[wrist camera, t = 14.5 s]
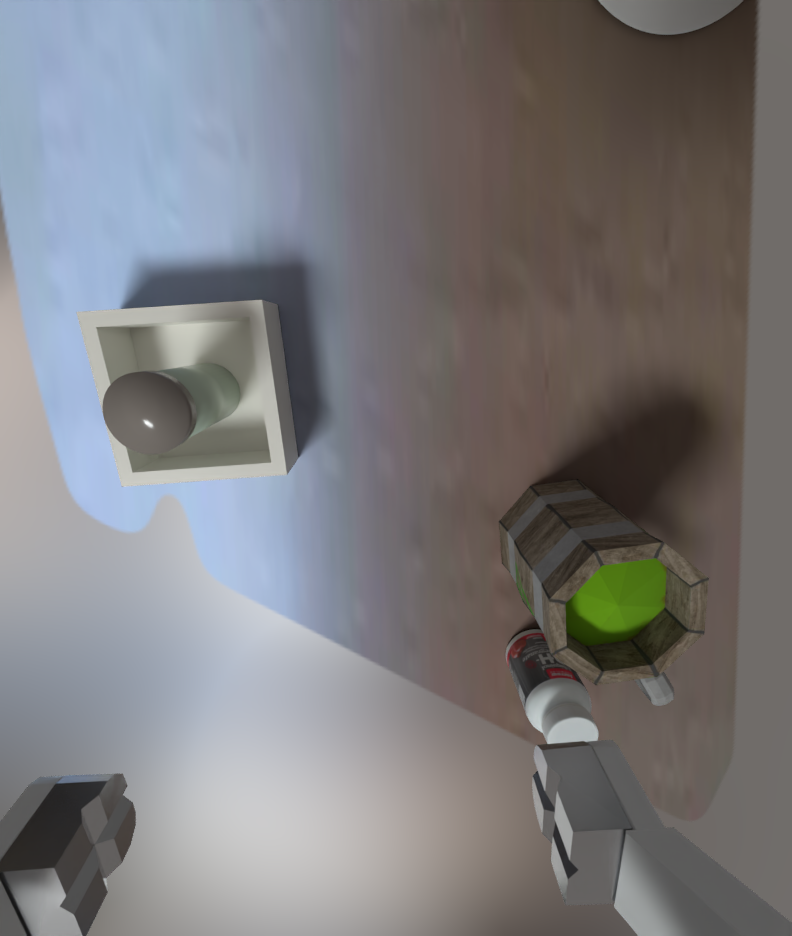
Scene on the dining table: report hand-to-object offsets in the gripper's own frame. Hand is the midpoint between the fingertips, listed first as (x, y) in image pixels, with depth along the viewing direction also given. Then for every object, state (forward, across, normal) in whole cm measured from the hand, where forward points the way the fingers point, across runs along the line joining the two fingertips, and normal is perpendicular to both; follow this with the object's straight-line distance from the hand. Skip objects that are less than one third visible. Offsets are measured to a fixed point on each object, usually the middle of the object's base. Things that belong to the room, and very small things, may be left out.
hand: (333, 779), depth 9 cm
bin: (+29, +12, -4) cm, 32 cm away
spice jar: (+28, +12, -4) cm, 31 cm away
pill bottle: (+29, -14, +22) cm, 39 cm away
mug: (+29, -17, +12) cm, 36 cm away
